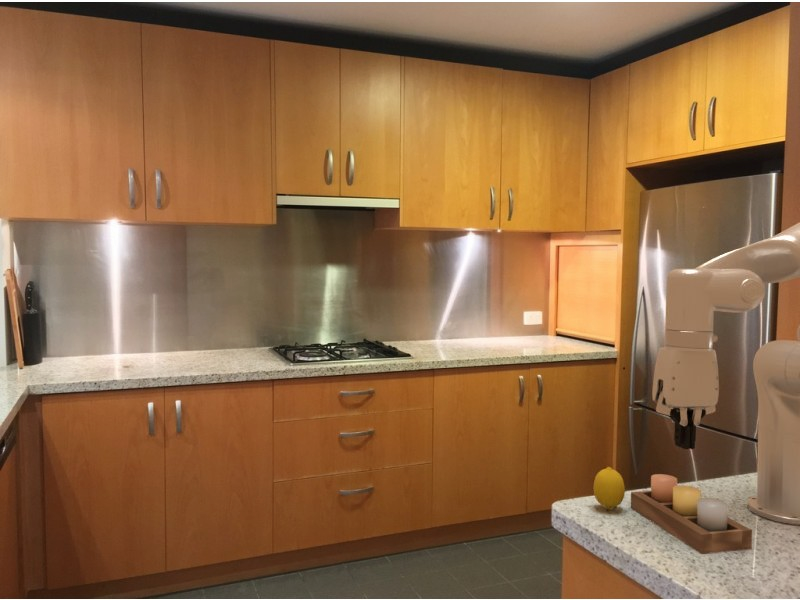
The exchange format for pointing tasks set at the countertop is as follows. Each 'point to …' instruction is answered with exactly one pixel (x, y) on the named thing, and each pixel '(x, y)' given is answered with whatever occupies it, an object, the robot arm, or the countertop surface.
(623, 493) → the lemon
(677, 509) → the yellow short cylinder
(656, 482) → the pink cylinder
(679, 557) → the countertop surface
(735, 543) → the wooden compartment tray
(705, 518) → the grey short rounded cylinder
